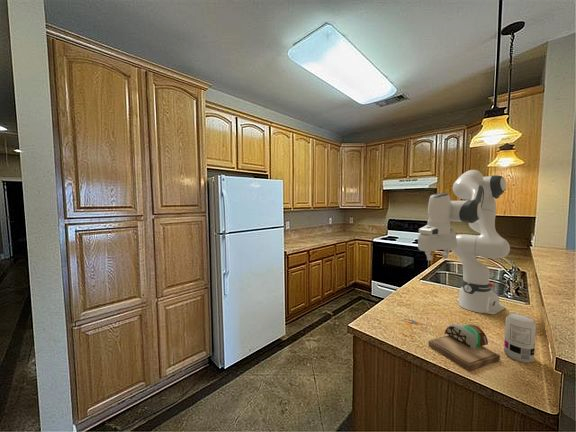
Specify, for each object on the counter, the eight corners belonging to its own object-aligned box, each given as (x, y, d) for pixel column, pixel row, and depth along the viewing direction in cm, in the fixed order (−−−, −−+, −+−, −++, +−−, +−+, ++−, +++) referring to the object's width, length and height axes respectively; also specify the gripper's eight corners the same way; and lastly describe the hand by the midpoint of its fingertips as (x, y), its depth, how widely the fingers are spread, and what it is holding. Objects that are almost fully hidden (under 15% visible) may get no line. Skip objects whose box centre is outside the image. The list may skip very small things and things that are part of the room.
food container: (492, 330, 95) (473, 334, 92) (491, 346, 95) (472, 350, 93) (462, 316, 107) (444, 319, 104) (461, 329, 107) (443, 333, 104)
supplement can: (498, 350, 96) (500, 313, 95) (517, 349, 97) (519, 312, 96) (519, 364, 88) (521, 323, 87) (540, 363, 89) (543, 322, 88)
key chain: (399, 323, 118) (399, 321, 118) (405, 318, 123) (405, 316, 123) (429, 333, 109) (429, 332, 109) (434, 327, 114) (434, 325, 114)
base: (456, 337, 105) (456, 332, 105) (499, 360, 90) (500, 354, 90) (428, 345, 100) (428, 340, 100) (469, 371, 85) (469, 365, 85)
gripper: (448, 227, 119) (447, 255, 120) (415, 229, 112) (414, 259, 113) (461, 228, 113) (460, 258, 114) (427, 231, 106) (426, 263, 107)
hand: (437, 259), depth 114 cm, fingers open, 8 cm apart
